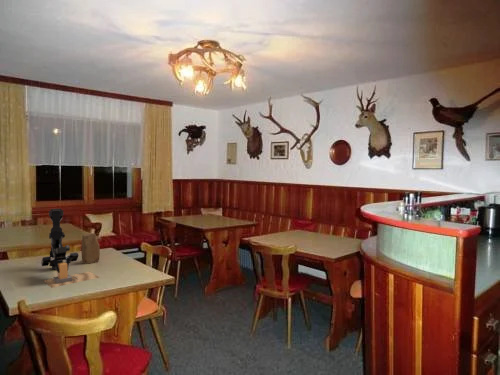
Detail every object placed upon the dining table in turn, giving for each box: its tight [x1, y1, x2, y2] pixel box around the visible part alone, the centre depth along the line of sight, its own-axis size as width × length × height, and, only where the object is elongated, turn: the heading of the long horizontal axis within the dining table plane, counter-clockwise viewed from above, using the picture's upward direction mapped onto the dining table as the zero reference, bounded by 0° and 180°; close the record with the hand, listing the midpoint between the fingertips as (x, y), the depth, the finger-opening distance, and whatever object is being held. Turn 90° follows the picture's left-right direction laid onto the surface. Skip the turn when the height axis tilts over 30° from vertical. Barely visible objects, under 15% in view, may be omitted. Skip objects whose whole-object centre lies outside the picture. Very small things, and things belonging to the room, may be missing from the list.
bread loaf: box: [81, 232, 101, 265], centre depth 246 cm, size 11×8×20 cm
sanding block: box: [52, 261, 72, 284], centre depth 204 cm, size 8×7×10 cm
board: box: [43, 271, 101, 289], centre depth 208 cm, size 26×16×1 cm, turn 134°
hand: (63, 271), depth 203 cm, fingers closed on sanding block, 4 cm apart
